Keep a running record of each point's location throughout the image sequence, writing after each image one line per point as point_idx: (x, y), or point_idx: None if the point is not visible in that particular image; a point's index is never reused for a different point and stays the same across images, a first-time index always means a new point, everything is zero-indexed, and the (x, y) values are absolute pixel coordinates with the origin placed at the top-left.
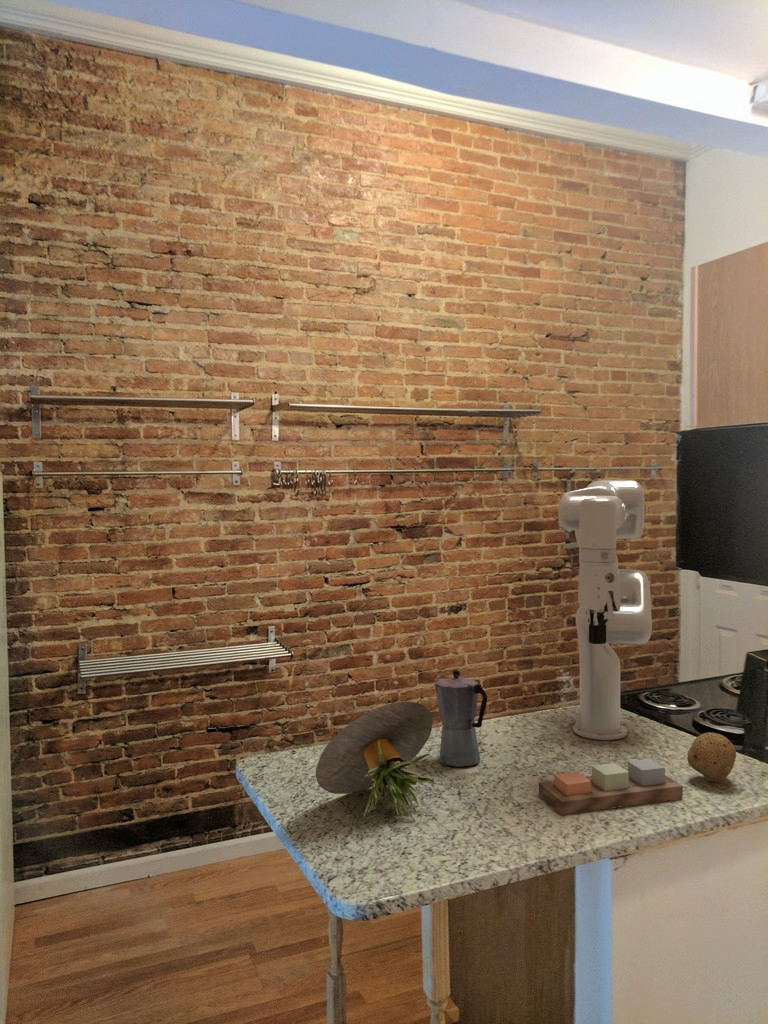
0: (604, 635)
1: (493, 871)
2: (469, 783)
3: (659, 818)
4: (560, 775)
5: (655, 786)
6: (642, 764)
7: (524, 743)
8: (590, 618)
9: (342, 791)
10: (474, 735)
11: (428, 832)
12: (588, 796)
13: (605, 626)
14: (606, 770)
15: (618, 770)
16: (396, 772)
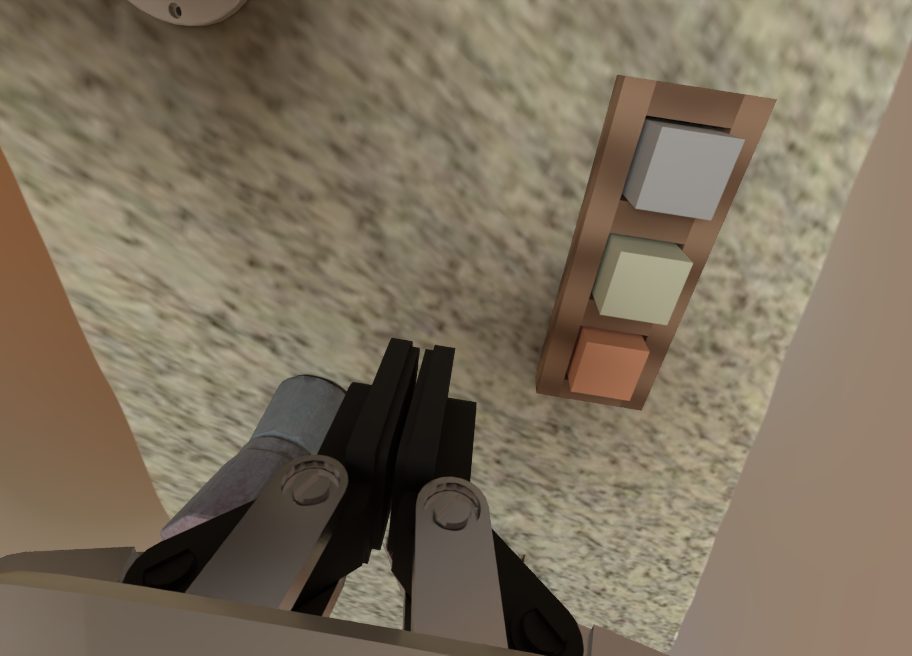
0: (474, 423)
1: (711, 549)
2: None
3: (783, 242)
4: (580, 383)
5: None
6: (680, 186)
7: (235, 228)
8: (329, 612)
9: (401, 591)
10: (313, 432)
11: (564, 556)
12: (656, 356)
13: (434, 453)
14: (647, 304)
15: (667, 278)
16: None
